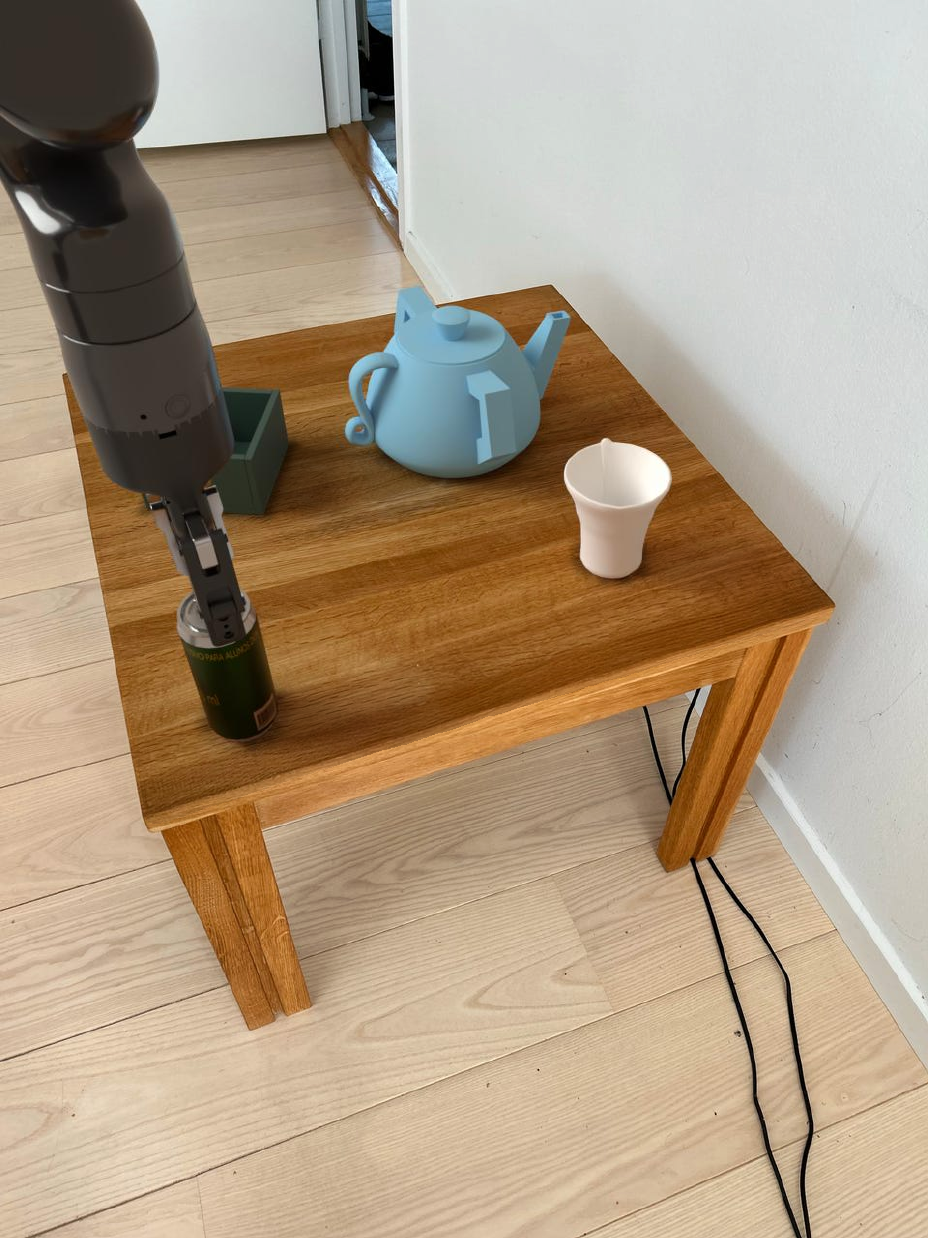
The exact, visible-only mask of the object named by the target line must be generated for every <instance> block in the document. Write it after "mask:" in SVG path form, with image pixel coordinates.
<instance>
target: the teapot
mask: <svg viewBox="0 0 928 1238" xmlns="http://www.w3.org/2000/svg"><path fill="white" fill-rule="evenodd" d="M395 309H396V310H395V317H394V318H395V319H394V328H393V333H394V334H393V336H392V337H391V339H390V340H389V342H388V343H387V344H386V346H385V348H384V350H383V351H381V352H380V351H379V352H373V353H370V354H367V355H365V356H364V357H361V358H360V359H359V360H357V361H356V363H354V365H353V366H352V368H351V370H350V372H349V375H348V388H349V393H350V396H351V399H352V401H353V404H354V406H355V407H356V410H357V413H358V414H359V416H353V417H351V418H350V419H349V420H348V421H347V422H346V425H345V427H344V428H345V429H344V434H345V437H346V439H347V441H348V442H349V443H350V444H352V445H355V446H358V447H367V446H370V445H371V444H373V443H375V444H376V445H377V448H379V449H380V450H381V451H382V452H383V453H385V454H386V455H387V456H388V457H390V459H392V460H394V461H395V462H396V463H398V464H399V465H401V466H402V467H404V468H406V469H408V470H410V471H412V472H415V473H418V474H421V475H424V476H427V477H433V478H441V479H460V478H461V479H463V478H469V477H470V478H471V477H476V476H478V475H479V476H480V475H483V474H487V473H490V472H492V471H494V470H496V469H499V468H501V467H503V466H504V465H506V464H507V463H508V462H510V461H512V460H513V459H514V458H515V457H517V456H519V454H520V453H522V452H523V451H524V450H525V449H526V448H527V447H528V446H529V445H530V444H531V443H532V441H533V440H534V438H535V436H536V434H537V432H538V430H539V427H540V423H541V400H542V399H543V397H544V395H545V392H546V389H547V386H548V384H549V381H550V378H551V375H552V373H553V370H554V367H555V364H556V362H557V359H558V356H559V353H560V351H561V348H562V345H563V342H564V340H565V337H566V335H567V331H568V328H569V326H570V323H571V319H572V318H571V315H570V314H568V313H567V312H566V310H558V311H552V312H551V311H550V312H546V313H545V318H544V319H543V320H542V322H540V324H539V326H538V327H537V329H536V330H535V332H534V333H533V334H532V336H531V338H529V340H528V341H527V343H526V344H525V346H524V347H523V349H522V350H521V349H520V347H519V346H518V344H517V343H516V341H515V340H514V338H513V336H512V335H511V334H510V333H509V332H508V330H507V329H506V328H505V327H504V325H503V324H502V323H501V322H500V321H498V320H496V319H495V318H494V317H492V316H491V315H489V314H486V313H483V312H481V311H477V310H473V309H467V308H465V307H463V306H459V305H445V306H441V307H438V308H437V306H436V305H435V303H434V302H433V301H432V299H431V298H430V297H429V296H428V294H427V293H426V291H425V290H424V289H423V287H422V286H421V284H420V285H419V284H418V285H415V286H414V285H413V286H411V287H406V288H403V289H402V288H401V289H399V290H398V291H397V299H396V308H395ZM370 373H372V374H371V376H370V379H369V383H368V388H367V393H366V397H365V396H364V393H363V380H364V379H365V378H366V377H367V376H368V375H369V374H370ZM358 427H363V429H362V430H360V431H356V429H357V428H358Z"/></svg>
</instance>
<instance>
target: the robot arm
mask: <svg viewBox="0 0 928 1238" xmlns="http://www.w3.org/2000/svg"><path fill="white" fill-rule="evenodd" d="M159 87H160V63H159V56H158V51H157V47H156V43H155V39H154V37H153V33H152V30H151V28H150V26H149V24H148V21H147V19H146V17H145V14H144V12H143V11H142V9H141V8H140V6H139V4H138V2H137V1H136V0H0V183H1V186H2V187H3V189H4V191H5V192H6V194H7V196H8V199H9V200H10V203H11V205H12V206H13V209H14V211H15V214H16V216H17V219H18V221H19V224H20V227H21V229H22V232H23V235H24V239H25V241H26V245H27V249H28V252H29V256H30V259H31V263H32V265H33V268H34V271H35V275H36V278H37V279H38V283H39V286H40V288H41V291H42V294H43V297H44V299H45V302H46V304H47V307H48V310H49V313H50V316H51V318H52V321H53V323H54V326H55V327H54V328H55V330H56V334H57V337H58V341H59V346H60V347H59V348H60V351H61V357H62V360H63V366H64V368H65V371H66V374H67V378H68V380H69V382H70V385H71V387H72V390H73V394H74V396H75V398H76V401H77V404H78V406H79V407H78V408H79V409H80V412H81V415H82V418H83V420H84V423H85V425H86V428H87V431H88V434H89V437H90V439H91V442H92V445H93V448H94V449H95V452H96V455H97V458H98V460H99V464H100V466H101V468H102V471H103V472H104V474H105V475H106V477H107V478H108V479H109V480H110V481H111V482H112V483H114V484H115V485H117V486H118V487H120V488H122V489H124V490H127V491H130V492H133V493H137V494H142V493H143V494H146V496H147V499H148V501H149V502H152V503H149V504H150V507H151V509H150V510H151V513H152V516H153V518H154V522H155V525H156V527H157V529H159V530H160V531H162V532H163V533H164V534H163V535H164V537H165V541H166V544H167V546H168V549H169V552H170V555H171V557H172V560H173V563H174V566H175V569H176V571H177V572H178V574H180V575H182V576H185V577H187V578H188V581H189V583H190V587H191V589H192V591H193V592H194V595H195V598H194V599H193V600H194V603H195V606H198V607H199V610H200V611H198V613H199V616H200V618H201V619H204V622H205V624H206V628H207V631H208V634H209V637H210V640H211V642H212V645H213V646H216V647H220V646H224V645H227V644H230V643H233V642H236V641H239V640H241V639H243V638H244V637H245V636H246V631H245V627H244V624H243V620H242V616H241V613H242V612H245V607H244V605H246V602H245V599H244V597H242V596H241V592H240V589H241V587H240V585H239V581H238V578H237V574H236V570H235V566H234V563H233V559H234V557H235V551H234V550H233V547H232V543H231V540H230V538H229V535H228V534H229V533H228V532H227V529H226V525H225V522H224V519H223V514H224V513H223V505H222V502H221V499H220V496H219V493H218V490H217V488H216V485H213V486H210V487H208V486H209V485H211V478H213V477H214V476H215V475H216V474H218V473H219V472H220V471H221V470H222V469H223V468H224V467H225V465H226V464H227V463H228V461H229V460H230V458H231V456H232V453H233V450H234V436H233V432H232V428H231V424H230V419H229V415H228V411H227V407H226V402H225V398H224V394H223V389H222V387H223V386H222V382H221V378H220V373H219V368H218V366H217V361H216V360H217V359H216V356H215V352H214V349H213V344H212V339H211V337H210V332H209V331H208V328H207V325H206V323H205V320H204V317H203V315H202V312H201V310H200V307H199V305H198V300H197V297H196V294H195V289H194V285H193V282H192V277H191V273H190V268H189V265H188V260H187V256H186V252H185V248H184V243H183V239H182V236H181V232H180V229H179V225H178V222H177V219H176V217H175V214H174V212H173V210H172V208H171V207H172V206H171V204H170V203H169V200H168V199H167V197H166V196H165V194H164V193H163V191H162V190H161V188H160V187H159V186H158V185H157V183H156V182H155V180H154V179H153V178H152V176H151V175H150V173H149V172H148V171H147V168H146V167H145V165H144V163H143V161H142V159H141V157H140V154H139V152H138V149H137V146H136V143H135V140H134V139H135V137H136V135H138V134H139V133H140V132H141V131H142V129H143V128H144V127H145V126H146V123H147V122H148V121H149V119H150V117H151V115H152V114H153V112H154V109H155V106H156V103H157V99H158V95H159V90H160V89H159Z"/></svg>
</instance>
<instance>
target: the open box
mask: <svg viewBox="0 0 928 1238" xmlns="http://www.w3.org/2000/svg"><path fill="white" fill-rule="evenodd" d="M222 389H223V394H224V398H225V402H226V407H227V411H228V415H229V419H230V424H231V428H232V432H233V436H234V450H233V453H232V456H231V458H230V460H229V461H228V463H227V464H226V465H225V467H224V468H223V469H222V470H221V471H220V472H219V473H218V474H216V475H215V476H214V477H213V478H211V485H209V486H208V487H210V486H213V485H216V488H217V490H218V493H219V496H220V499H221V502H222V505H223V513H222V514H236V515H237V514H239V515H257V516H264V513H265V511H266V508H267V505H268V503H269V499H270V497H271V494H272V492H273V490H274V486H275V484H276V481H277V478H278V476H279V472H280V470H281V468H282V465H283V463H284V459H285V456H286V454H287V451H288V448H289V446H290V441H289V435H288V429H287V424H286V417H285V412H284V406H283V400H282V394H281V390H280V389H268V388H265V389H264V388H245V387H223V386H222ZM141 495H142V499H143V502H144V504H145V508H146V509H148V510H151V507H150V504H149V503H152V502H149V501H148V499H147V496H146V494H143V493H141Z"/></svg>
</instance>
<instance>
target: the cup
mask: <svg viewBox="0 0 928 1238" xmlns="http://www.w3.org/2000/svg"><path fill="white" fill-rule="evenodd" d="M563 478H564V479H563V480H564V483H565V487H566V489H567V491H568V492H569V494H570V496H571V497H572V499H573V501H574V503H575V510H576V514H577V516H578V519H579V523H580V524H579V525H580V526H579V527H580V549H579V559H580V561H581V563H582V565H583V567H584V568H585V569H587V570H588V571H589V572H590V573H591V574H593V575H595V576H598V577H600V578H603V579H604V578H605V579H611V580H612V579H621V578H626V577H627V576H630V575H631V574H633V573H634V572H635V571H636V570H638V569H639V567H640V566H641V564H642V562H643V561H642V559H643V549H644V548H643V547H644V542H645V538H646V534H647V533H648V528H649V525H650V523H651V521H652V519H653V518H654V514H655V511H656V509H657V508H658V506H659V504H660V503H661V502H662V500H664V498H665V497H666V496H667V494H668V492H669V491H670V489H671V485H672V481H673V477H672V471H671V469H670V467H669V465H668V464H667V463H666V461H665V460H663V458H662V457H660V456H659V455H657V454H656V453H654V452H652V451H650V450H649V449H647V448H645V447H642V446H638V445H635V444H632V443H625V442H617V441H616V442H615V441H612V440H611V439H610V438H608V437H606V438H603V439H602V440H601V441H600V442H598V443H595V444H592V445H589V446H586V447H584V448H582V449H580V450H578V451H577V452H576V453H574V454H573V455H572V456H571V457H570V458H569V459H568V461H567V462H566V463H565V467H564V471H563Z"/></svg>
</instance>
